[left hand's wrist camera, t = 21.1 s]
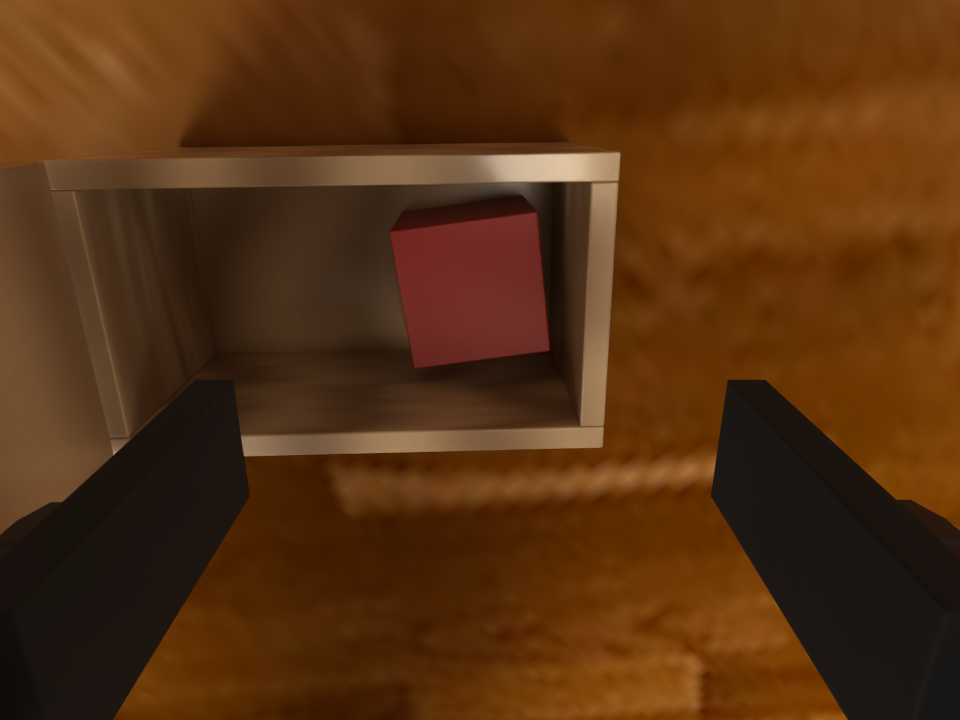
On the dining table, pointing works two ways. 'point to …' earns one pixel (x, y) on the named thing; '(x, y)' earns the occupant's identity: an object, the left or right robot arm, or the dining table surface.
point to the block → (471, 281)
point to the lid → (41, 356)
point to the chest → (330, 291)
